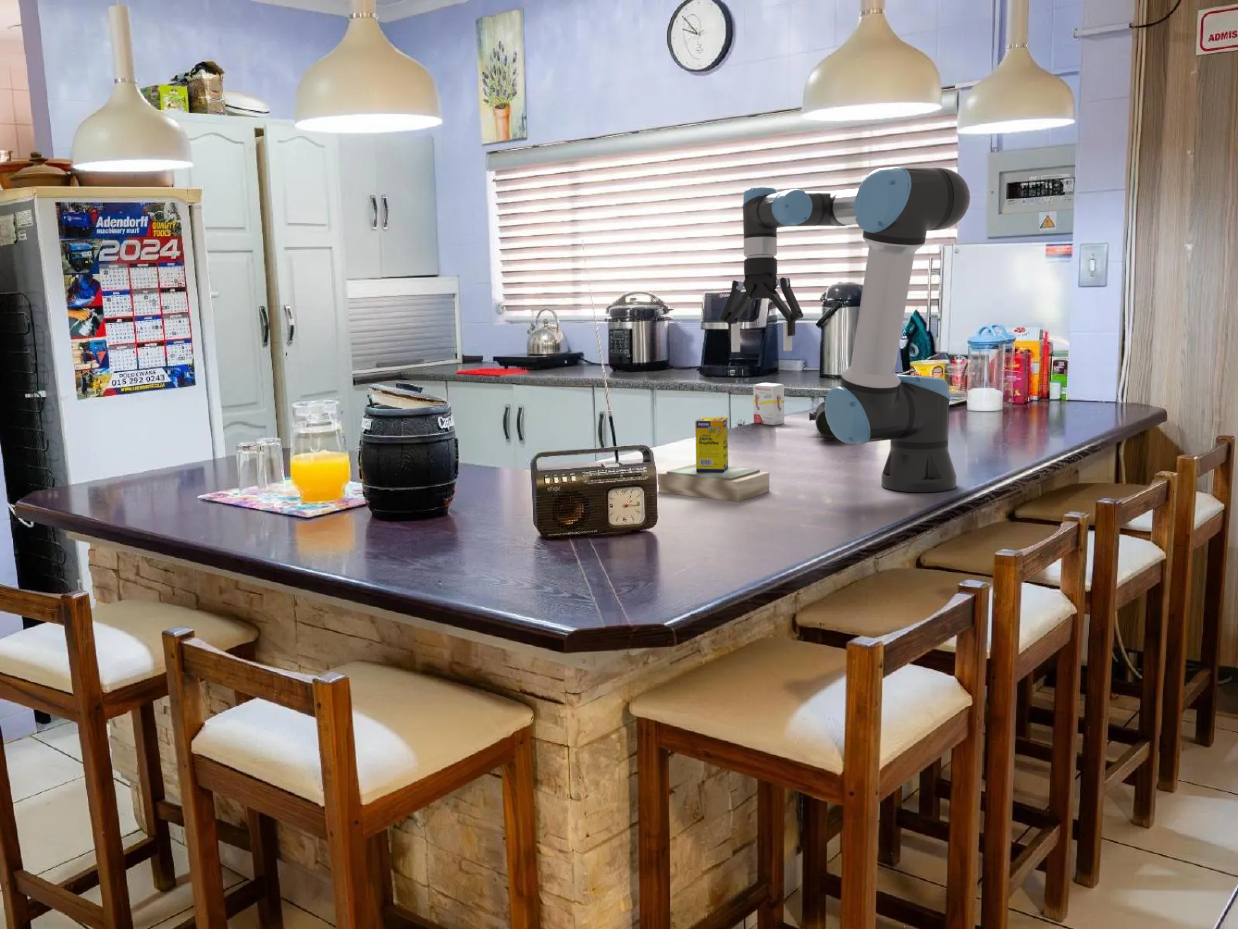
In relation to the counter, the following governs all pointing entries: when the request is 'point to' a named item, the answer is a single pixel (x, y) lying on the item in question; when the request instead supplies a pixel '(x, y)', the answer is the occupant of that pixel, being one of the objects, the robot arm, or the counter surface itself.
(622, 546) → the counter surface
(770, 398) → the ink box
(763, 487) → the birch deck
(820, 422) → the rifle scope
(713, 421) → the supplement box
